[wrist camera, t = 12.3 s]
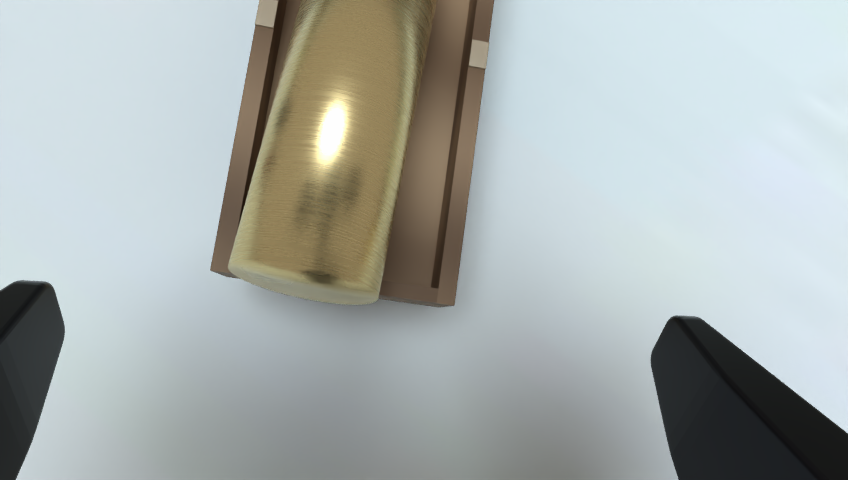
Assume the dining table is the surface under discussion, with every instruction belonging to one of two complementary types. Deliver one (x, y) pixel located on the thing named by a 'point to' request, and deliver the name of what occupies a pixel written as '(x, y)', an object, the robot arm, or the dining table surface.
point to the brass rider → (334, 151)
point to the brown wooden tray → (426, 156)
